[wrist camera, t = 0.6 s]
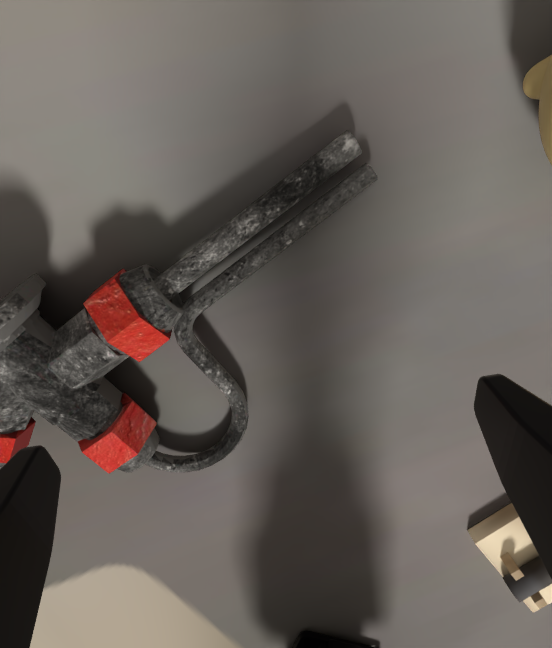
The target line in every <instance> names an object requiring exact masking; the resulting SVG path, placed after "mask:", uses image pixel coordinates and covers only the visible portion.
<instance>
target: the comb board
mask: <svg viewBox="0 0 552 648" xmlns="http://www.w3.org/2000/svg"><path fill="white" fill-rule="evenodd" d="M468 532H469V534H470V536H471V537H472V539H473V541H474V542H475V544H476V545H477V546H478V548H479V549H480V550H481V551H482V552H483V554H484V555H485V556H486V557H487V558H488V560H489V561H490V562H491V563H492V564H493V565H494V567H495V568H496V569H497V570H498V571H499V573H500V574H501V575H502V576H503V579H504V581H505V583H506V584H507V586H508V587H509V589H510V590H511V592H512V593H513V595H514V596H515V597H516V599H517V600H518V601H519V602H521V601H524V602H525V604H526V605H527V606H528V607H529V608H530V610H531V611H532V612H533V613H534V612H535V611H537V610H539V609H541V608H543V607H544V606H546V605H548V604H550V603H551V602H552V579H551V577H550V576H549V574H548V572H547V570H546V568H545V566H544V564H543V562H542V560H541V558H540V556H539V554H538V552H537V550H536V549H535V547H534V545H533V543H532V541H531V539H530V537H529V535H528V533H527V531H526V529H525V527H524V525H523V523H522V522H521V520H520V518H519V516H518V514H517V512H516V510H515V508H514V506H513V504H512V503H510V504H509V505H507V506H506V507H504V508H502V509H501V510H499V511H497V512H496V513H494V514H493V515H491V516H489V517H488V518H486V519H485V520H483V521H481V522H480V523H478V524H476V525H475V526H473V527H472V528H470V529H468Z"/></svg>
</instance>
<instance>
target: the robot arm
mask: <svg viewBox="0 0 552 648" xmlns="http://www.w3.org/2000/svg"><path fill="white" fill-rule="evenodd" d="M474 411H475V415H476V418H477V420H478V423H479V426H480V428H481V431H482V433H483V436H484V439H485V441H486V444H487V446H488V449H489V452H490V454H491V457H492V459H493V462H494V465H495V467H496V470H497V472H498V475H499V477H500V480H501V482H502V484H503V486H504V488H505V490H506V493H507V495H508V496H509V498H510V500H511V502H512V504H513V506H514V508H515V510H516V512H517V514H518V516H519V518H520V520H521V522H522V523H523V525H524V527H525V529H526V531H527V533H528V535H529V537H530V539H531V541H532V543H533V545H534V547H535V549H536V550H537V552H538V554H539V556H540V558H541V560H542V562H543V564H544V566H545V568H546V570H547V572H548V574H549V576H550V577H551V579H552V406H551V405H550V404H548V403H547V402H545V401H543V400H542V399H540V398H539V397H537V396H535V395H534V394H532V393H531V392H529V391H527V390H526V389H524V388H523V387H521V386H520V385H518V384H516V383H515V382H513V381H512V380H510V379H508V378H507V377H505V376H503V375H501V374H495V375H488V376H483V377H481V378H480V379H479V380H478V384H477V390H476V396H475V401H474ZM60 483H61V474H60V470H59V468H58V466H57V465H56V463H55V462H54V460H53V459H52V457H51V456H50V454H49V453H48V451H47V450H46V449H45V448H44V447H43V446H33V447H26V448H22V449H20V450H19V451H18V452H17V453H16V454H15V455H14V456H13V457H12V458H11V459H10V460H9V461H8V462H7V463H6V464H5V465H4V466H3V467H2V468H1V469H0V648H29V647H30V643H31V639H32V634H33V630H34V626H35V622H36V617H37V613H38V609H39V605H40V600H41V596H42V592H43V588H44V583H45V579H46V575H47V571H48V566H49V562H50V557H51V552H52V546H53V540H54V531H55V523H56V515H57V507H58V499H59V491H60ZM292 648H373V647H369V646H365V645H361V644H357V643H353V642H349V641H345V640H341V639H337V638H333V637H329V636H325V635H322V634H318V633H314V632H310V631H303V632H301V633H300V634H299V636H298V638H297V640H296V642H295V644H294V646H293V647H292Z"/></svg>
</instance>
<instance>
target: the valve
mask: <svg viewBox="0 0 552 648" xmlns="http://www.w3.org/2000/svg"><path fill="white" fill-rule="evenodd" d="M361 153H362V151H361V148H360V146H359V144H358V142H357V141H356V139H355V138H354V136H353V135H352V134H351V133H350V132H349V131H348V130H347V131H345V132H344V133H343V134H342V135H340V136H339V137H338V138H336V139H335V140H334V141H333V142H331V143H330V144H329V145H327V146H326V147H325V148H323V149H322V150H321V151H320V152H318V153H317V154H316V155H314V156H313V157H312V158H311V159H309V160H308V161H307V162H305V163H304V164H303V165H302V166H300V167H299V168H298V169H296V170H295V171H294V172H292V173H291V174H290V175H289V176H287V177H286V178H285V179H283V180H282V181H281V182H280V183H278V184H277V185H276V186H274V187H273V188H272V189H271V190H269V191H268V192H267V193H265V194H264V195H263V196H261V197H260V198H259V199H258V200H256V201H255V202H254V203H252V204H251V205H250V206H249V207H247V208H246V209H245V210H243V211H242V212H241V213H240V214H238V215H237V216H236V217H234V218H233V219H232V220H230V221H229V222H228V223H227V224H225V225H224V226H223V227H221V228H220V229H219V230H218V231H216V232H215V233H214V234H212V235H211V236H210V237H209V238H207V239H206V240H205V241H203V242H202V243H201V244H199V245H198V246H197V247H196V248H194V249H193V250H192V251H190V252H189V253H188V254H187V255H185V256H184V257H183V258H181V259H180V260H179V261H178V262H176V263H175V264H174V265H172V266H171V267H170V268H168V269H167V270H166V271H165V272H163V273H162V274H161V273H160V272H159V271H158V270H157V269H155V268H154V267H152V266H150V265H146V264H144V265H142V266H139V267H137V268H134V269H132V270H130V271H126V270H125V269H124V268H123V269H122V270H120V271H119V272H118V273H117V274H115V275H114V276H113V277H112V278H110V279H109V280H108V281H106V282H105V283H104V284H103V285H101V286H100V287H99V288H98V289H96V290H95V291H94V292H93V293H92V294H91V295H90V296H89V298H88V299H87V300H86V301H85V302H84V303H83V304H84V306H85V308H84V309H83V310H81V311H80V312H79V313H78V314H76V315H75V316H74V317H73V318H72V319H70V320H69V321H68V322H67V323H65V324H64V325H63V326H62V327H61V328H59V329H58V330H57V331H56V330H55V329H54V328H52V327H51V326H50V325H49V324H48V323H47V322H46V321H45V320H43V319H42V318H41V317H40V316H39V314H40V312H39V311H38V310H37V308H38V306H39V305H40V301H41V291H42V289H43V288H44V287H45V285H46V282H45V281H43V280H42V279H41V278H40V277H39V276H38V275H37V274H34V275H32V276H31V277H30V278H28V279H27V280H25V281H24V282H23V283H22V284H21V285H19V286H18V287H17V288H15V289H14V290H13V291H12V292H10V293H9V294H8V295H7V296H6V297H4V298H3V299H2V300H1V301H0V467H3V466H4V465H5V464H6V463H7V462H8V461H9V460H10V459H11V458H12V457H13V456H14V455H15V454H16V453H17V452H18V451H19V450H20V449H22V448H26V447H27V446H28V445H29V441H30V438H31V435H32V432H33V429H34V426H35V422H36V421H35V420H34V419H33V418H32V417H31V416H32V414H33V412H34V410H35V411H36V412H37V413H38V414H40V415H41V416H42V417H43V418H45V419H46V420H47V421H48V422H50V423H51V424H52V425H57V426H58V427H59V428H61V429H62V430H63V431H64V432H66V433H67V434H68V435H69V436H71V437H72V438H73V439H74V440H76V441H78V444H79V446H80V448H81V451H82V453H84V454H85V455H86V456H87V457H89V458H90V459H91V460H92V461H94V462H95V463H96V464H98V465H99V466H100V467H101V468H103V469H104V470H105V471H106V472H108V473H111V472H112V471H114V470H115V469H119V470H122V471H124V472H133V471H135V470H137V469H139V468H141V467H142V466H143V465H144V464H145V465H148V466H150V467H152V468H155V469H157V470H162V471H167V472H190V471H197V470H200V469H203V468H206V467H209V466H211V465H213V464H215V463H217V462H218V461H220V460H222V459H224V458H225V457H226V456H227V455H228V454H230V453H231V452H232V451H233V450H234V449H235V448H236V446H237V445H238V444H239V442H240V441H241V440H242V437H243V435H244V433H245V430H246V428H247V422H248V407H247V401H246V398H245V396H244V393H243V391H242V389H241V387H240V386H239V385H238V383H237V382H236V381H235V379H234V378H233V377H232V376H231V375H230V374H229V373H228V372H227V371H226V370H225V369H224V367H223V366H222V365H221V364H220V363H219V362H218V361H217V360H216V359H215V358H214V357H213V356H212V355H211V354H210V352H209V351H208V350H207V349H206V348H205V347H204V346H203V345H202V344H201V343H200V342H199V341H198V340H197V338H196V337H195V335H194V333H193V329H192V328H193V323H194V321H195V319H196V317H197V316H198V315H199V314H200V313H201V312H203V311H204V310H205V309H207V308H208V307H209V306H211V305H212V304H213V303H215V302H216V301H217V300H219V299H220V298H221V297H223V296H224V295H225V294H227V293H228V292H229V291H230V290H232V289H233V288H234V287H236V286H237V285H238V284H240V283H241V282H242V281H244V280H245V279H246V278H248V277H249V276H250V275H252V274H253V273H254V272H256V271H257V270H258V269H260V268H261V267H262V266H264V265H265V264H266V263H268V262H269V261H270V260H271V259H273V258H274V257H275V256H277V255H278V254H279V253H281V252H282V251H283V250H285V249H286V248H287V247H289V246H290V245H291V244H293V243H294V242H295V241H297V240H298V239H299V238H301V237H302V236H303V235H305V234H306V233H307V232H309V231H310V230H311V229H313V228H314V227H315V226H316V225H318V224H319V223H320V222H322V221H323V220H324V219H326V218H327V217H328V216H330V215H331V214H332V213H334V212H335V211H336V210H338V209H339V208H340V207H342V206H343V205H344V204H346V203H347V202H348V201H350V200H351V199H352V198H354V197H355V196H356V195H357V194H359V193H360V192H361V191H363V190H364V189H365V188H367V187H368V186H369V185H371V184H372V183H373V182H375V181H376V180H377V175H376V173H375V172H374V170H373V169H372V167H371V166H370V165H369V164H368V163H365V164H364V165H362V166H361V167H360V168H359V169H357V170H356V171H355V172H353V173H352V174H351V175H349V176H348V177H347V178H345V179H344V180H343V181H342V182H340V183H339V184H338V185H336V186H335V187H334V188H332V189H331V190H330V191H328V192H327V193H326V194H324V195H323V196H322V197H321V198H319V199H318V200H317V201H315V202H314V203H313V204H311V205H310V206H309V207H307V208H306V209H305V210H304V211H302V212H301V213H300V214H298V215H297V216H296V217H294V218H293V219H292V220H290V221H289V222H288V223H286V224H285V225H284V226H283V227H281V228H280V229H279V230H277V231H276V232H275V233H273V234H272V235H271V236H269V237H268V238H267V239H265V240H264V241H263V242H262V243H260V244H259V245H258V246H256V247H255V248H254V249H252V250H251V251H250V252H248V253H247V254H246V255H245V256H243V257H242V258H241V259H239V260H238V261H237V262H235V263H234V264H233V265H231V266H230V267H229V268H227V269H226V270H225V271H224V272H222V273H221V274H220V275H218V276H217V277H216V278H214V279H213V280H212V281H210V282H209V283H208V284H207V285H205V286H204V287H203V288H201V289H200V290H199V291H197V292H196V293H195V294H193V295H192V296H191V297H189V298H188V299H187V300H186V301H185V303H184V304H183V301H182V299H181V298H180V296H179V294H178V293H180V292H181V291H182V290H183V289H185V288H186V287H187V286H189V285H190V284H191V283H193V282H194V281H195V280H197V279H198V278H199V277H200V276H202V275H203V274H204V273H206V272H207V271H208V270H210V269H211V268H212V267H214V266H215V265H216V264H217V263H219V262H220V261H221V260H223V259H224V258H225V257H227V256H228V255H229V254H231V253H232V252H233V251H234V250H236V249H237V248H238V247H240V246H241V245H242V244H244V243H245V242H246V241H248V240H249V239H250V238H251V237H253V236H254V235H255V234H257V233H258V232H259V231H261V230H262V229H263V228H265V227H266V226H267V225H268V224H270V223H271V222H272V221H274V220H275V219H276V218H278V217H279V216H280V215H282V214H283V213H284V212H285V211H287V210H288V209H289V208H291V207H292V206H293V205H295V204H296V203H297V202H299V201H300V200H301V199H302V198H304V197H305V196H306V195H308V194H309V193H310V192H312V191H313V190H314V189H316V188H317V187H318V186H319V185H321V184H322V183H323V182H325V181H326V180H327V179H329V178H330V177H331V176H333V175H334V174H335V173H336V172H338V171H339V170H340V169H342V168H343V167H344V166H346V165H347V164H348V163H350V162H351V161H352V160H353V159H355V158H356V157H357V156H359V155H360V154H361ZM174 326H175V327H174ZM173 327H174V333H175V336H176V340H177V343H178V344H179V346H180V347H181V349H182V350H183V352H184V353H185V354H186V355H187V356H188V357H189V358H190V359H191V360H192V361H193V362H194V363H195V364H196V365H197V366H198V367H199V368H200V369H201V370H202V371H203V373H204V374H205V375H206V376H207V377H208V378H209V379H210V380H211V381H212V382H213V383H214V384H215V385H216V386H217V387H218V388H219V389H220V390H221V391H222V392H223V394H224V395H225V396H226V398H227V399H228V401H229V404H230V406H231V410H232V418H231V424H230V426H229V428H228V431H227V432H226V434H225V435H224V436H223V438H222V439H221V440H220V441H219V442H218V443H217V444H216V445H214V446H213V447H211V448H209V449H208V450H206V451H203V452H201V453H198V454H194V455H187V456H172V455H168V454H163V453H160V452H158V451H156V449H157V447H158V444H159V438H160V437H159V435H158V434H157V432H156V430H155V428H154V427H155V426H156V424H157V423H156V421H155V420H154V419H153V418H152V417H151V416H150V415H149V414H148V413H147V412H145V411H144V410H143V409H142V408H141V407H140V406H139V405H138V404H137V403H136V402H135V401H133V400H132V399H131V398H130V397H129V396H128V395H127V394H126V393H125V392H124V393H123V394H122V393H121V392H120V391H119V390H118V389H117V388H116V387H115V386H114V385H112V384H111V383H110V382H109V381H108V380H107V379H106V378H105V377H104V375H105V374H106V373H108V372H109V371H110V370H112V369H113V368H115V367H116V366H117V365H119V364H120V363H121V362H123V361H124V360H125V359H127V358H128V357H129V356H131V357H132V358H134V359H135V360H137V361H139V362H140V361H142V360H143V359H144V358H146V357H147V356H148V355H150V354H151V353H152V352H154V351H155V350H156V349H157V348H159V347H160V346H161V345H163V344H164V343H165V342H167V341H168V340H169V339H170V336H171V332H172V328H173Z"/></svg>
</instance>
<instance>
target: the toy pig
mask: <svg viewBox="0 0 552 648" xmlns="http://www.w3.org/2000/svg"><path fill="white" fill-rule="evenodd" d="M523 90H524V93H525V94H526V95H527V96H528V97H529V98H532V99H539V100H540V101H539V129H540V135H541V140H542V144H543V147H544V150H545V152H546V155H547V157H548V159H549V161H550V163H551V165H552V55H550V56H549V57H547V58H545V59H544V60H542V61H540V62H539V63H537V64H536V65H535V66H533V67H532V68H531V69H530V70H529V71H528V72H527V74H526V76H525V78H524V81H523Z"/></svg>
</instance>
